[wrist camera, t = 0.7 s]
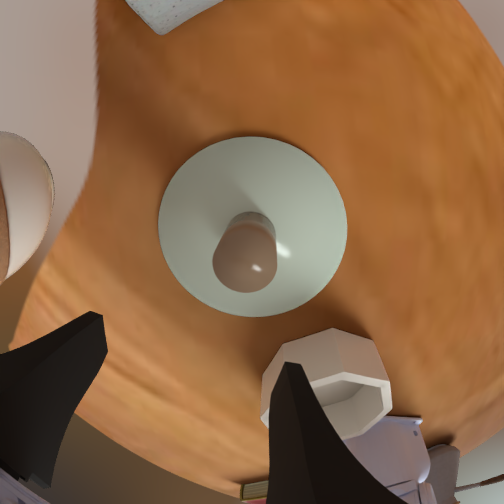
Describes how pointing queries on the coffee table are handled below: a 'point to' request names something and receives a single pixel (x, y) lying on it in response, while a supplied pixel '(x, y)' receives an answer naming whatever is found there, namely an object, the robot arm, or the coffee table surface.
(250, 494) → the hardcover book
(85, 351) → the robot arm
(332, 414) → the bowl
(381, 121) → the coffee table surface
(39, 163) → the lidded jar
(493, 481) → the coffee pot
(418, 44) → the coffee table surface
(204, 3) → the ceramic mug
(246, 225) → the lid
